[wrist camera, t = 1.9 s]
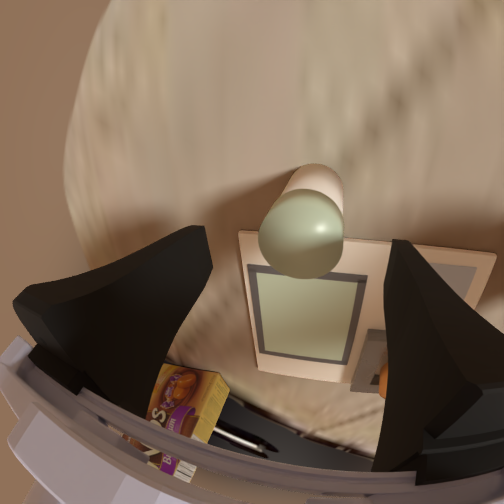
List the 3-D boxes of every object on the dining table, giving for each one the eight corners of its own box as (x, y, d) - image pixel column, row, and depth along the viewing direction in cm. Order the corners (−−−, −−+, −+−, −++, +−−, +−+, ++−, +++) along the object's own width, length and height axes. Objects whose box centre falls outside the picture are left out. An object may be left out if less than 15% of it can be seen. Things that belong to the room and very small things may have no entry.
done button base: (457, 333, 17) (459, 344, 16) (424, 384, 21) (425, 394, 21) (367, 328, 20) (367, 340, 19) (351, 381, 24) (350, 391, 23)
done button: (430, 357, 18) (432, 377, 16) (414, 382, 20) (414, 400, 19) (386, 355, 19) (386, 376, 18) (375, 380, 21) (373, 399, 20)
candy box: (177, 379, 36) (129, 465, 24) (163, 361, 34) (108, 453, 22) (232, 390, 33) (186, 493, 21) (220, 372, 31) (166, 484, 19)
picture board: (495, 253, 13) (497, 257, 13) (427, 383, 22) (427, 388, 21) (239, 230, 19) (237, 234, 18) (259, 367, 27) (258, 371, 27)
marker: (345, 163, 14) (346, 208, 9) (343, 218, 16) (339, 283, 11) (285, 161, 15) (254, 203, 10) (288, 214, 17) (261, 274, 12)
